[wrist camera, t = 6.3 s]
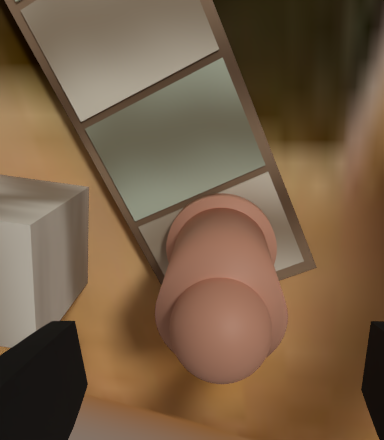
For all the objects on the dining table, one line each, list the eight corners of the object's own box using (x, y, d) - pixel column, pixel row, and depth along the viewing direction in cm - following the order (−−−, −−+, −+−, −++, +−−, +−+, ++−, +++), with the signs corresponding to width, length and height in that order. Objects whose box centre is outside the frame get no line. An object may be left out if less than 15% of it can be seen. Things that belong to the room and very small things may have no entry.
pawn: (296, 229, 14) (363, 345, 7) (235, 307, 16) (245, 460, 9) (203, 172, 14) (186, 241, 7) (150, 257, 15) (93, 381, 8)
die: (89, 186, 15) (29, 225, 10) (88, 282, 17) (36, 354, 12) (-18, 171, 15) (-125, 203, 11) (-9, 268, 17) (-97, 332, 12)
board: (312, 260, 15) (317, 268, 15) (180, 307, 17) (178, 317, 16) (107, -266, 10) (97, -295, 9) (-60, -132, 12) (-79, -148, 11)
